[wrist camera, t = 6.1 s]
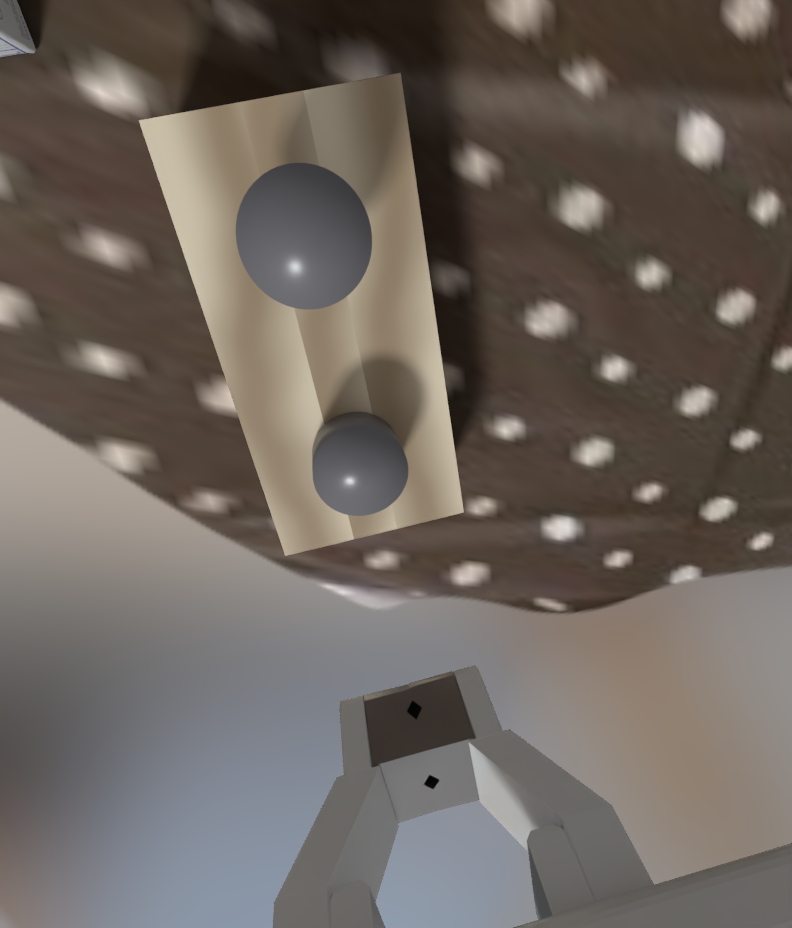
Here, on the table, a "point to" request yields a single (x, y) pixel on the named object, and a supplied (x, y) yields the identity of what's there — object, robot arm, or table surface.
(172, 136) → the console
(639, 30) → the table surface
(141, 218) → the table surface
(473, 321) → the table surface
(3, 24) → the medicine box
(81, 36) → the table surface
